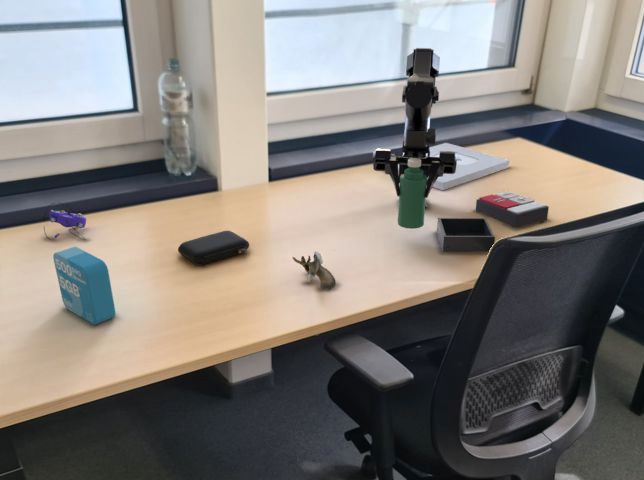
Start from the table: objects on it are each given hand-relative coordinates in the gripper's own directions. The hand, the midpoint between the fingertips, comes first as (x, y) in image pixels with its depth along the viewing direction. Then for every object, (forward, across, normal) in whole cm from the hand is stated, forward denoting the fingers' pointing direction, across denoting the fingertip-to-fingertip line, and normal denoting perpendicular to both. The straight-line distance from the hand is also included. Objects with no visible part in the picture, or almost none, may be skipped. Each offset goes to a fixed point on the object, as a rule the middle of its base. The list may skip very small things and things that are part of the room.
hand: (412, 196), depth 168 cm
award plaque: (-33, +8, +51) cm, 61 cm away
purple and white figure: (+12, -81, +6) cm, 82 cm away
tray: (+6, +13, +11) cm, 18 cm away
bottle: (+4, 0, +6) cm, 7 cm away
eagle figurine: (+23, -19, -6) cm, 31 cm away
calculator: (-7, +25, +25) cm, 36 cm away
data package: (+37, -61, -20) cm, 74 cm away
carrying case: (+16, -43, +2) cm, 46 cm away
